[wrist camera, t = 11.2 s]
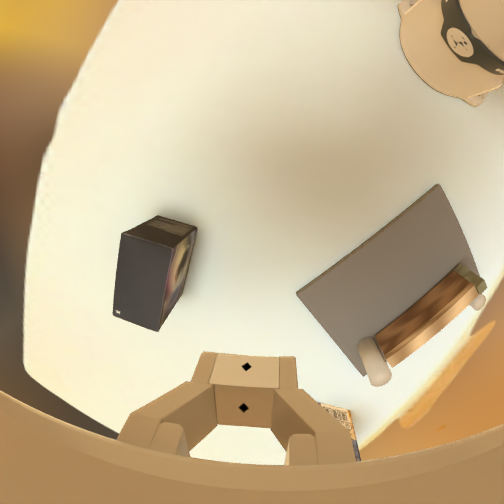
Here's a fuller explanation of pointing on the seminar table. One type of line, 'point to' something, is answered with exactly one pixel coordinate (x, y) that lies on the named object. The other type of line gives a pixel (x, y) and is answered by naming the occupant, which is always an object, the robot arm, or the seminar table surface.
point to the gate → (430, 314)
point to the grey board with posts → (388, 280)
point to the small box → (152, 270)
